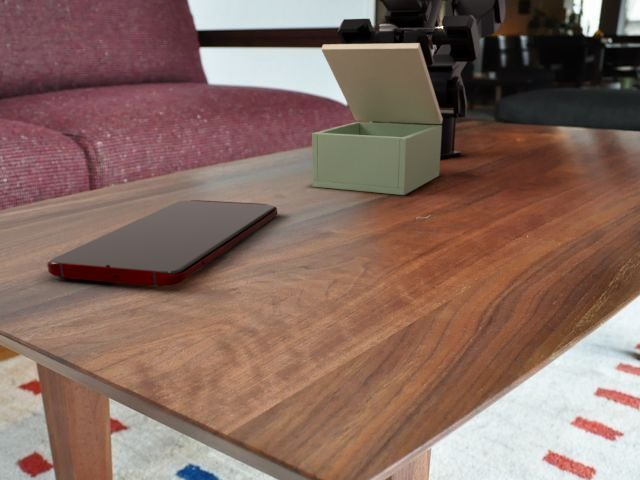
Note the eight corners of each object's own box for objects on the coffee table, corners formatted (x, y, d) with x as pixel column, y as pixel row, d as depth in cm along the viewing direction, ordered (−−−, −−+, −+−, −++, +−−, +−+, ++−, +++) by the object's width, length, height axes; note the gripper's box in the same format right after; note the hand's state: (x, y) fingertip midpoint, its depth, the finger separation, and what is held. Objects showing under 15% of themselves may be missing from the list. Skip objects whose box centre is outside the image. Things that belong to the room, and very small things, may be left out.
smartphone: (282, 203, 73) (177, 272, 50) (282, 217, 73) (178, 292, 51) (179, 197, 76) (38, 261, 53) (180, 211, 76) (40, 279, 54)
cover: (417, 48, 77) (419, 42, 78) (321, 49, 83) (323, 44, 83) (441, 124, 90) (442, 119, 90) (355, 120, 95) (357, 116, 95)
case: (404, 195, 81) (406, 138, 79) (312, 186, 87) (311, 133, 84) (439, 176, 92) (442, 125, 90) (356, 169, 98) (356, 121, 96)
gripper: (343, -45, 91) (306, 43, 86) (481, -56, 82) (448, 40, 77) (366, 19, 100) (333, 102, 95) (491, 15, 91) (463, 105, 86)
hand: (389, 87), depth 88 cm, fingers closed
